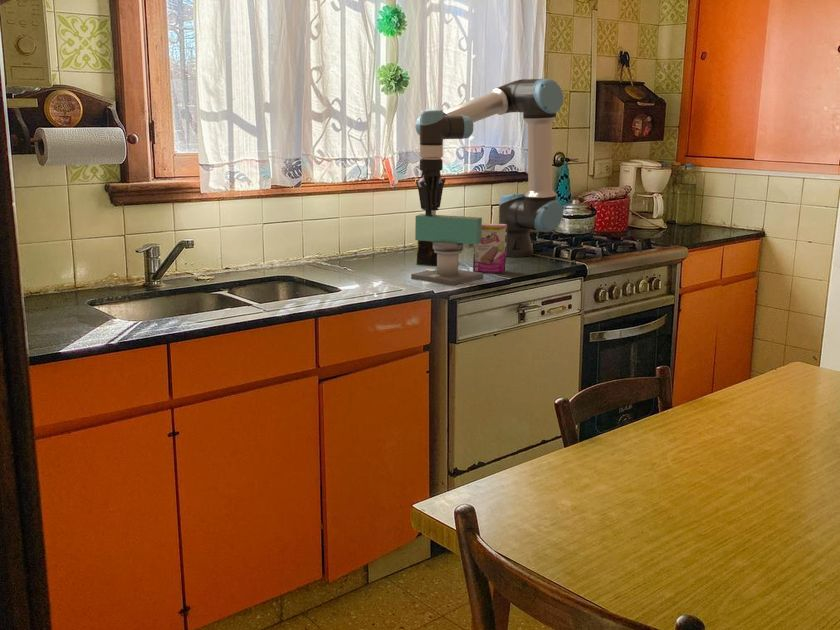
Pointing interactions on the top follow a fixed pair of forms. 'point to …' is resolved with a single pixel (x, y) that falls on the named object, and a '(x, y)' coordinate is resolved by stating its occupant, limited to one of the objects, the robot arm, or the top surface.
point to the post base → (448, 279)
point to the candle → (426, 253)
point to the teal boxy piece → (448, 231)
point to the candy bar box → (491, 249)
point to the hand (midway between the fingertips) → (430, 229)
